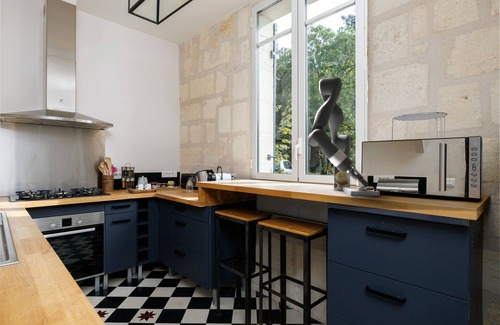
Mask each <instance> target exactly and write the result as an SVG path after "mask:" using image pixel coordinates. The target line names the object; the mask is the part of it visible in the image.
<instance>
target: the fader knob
mask: <svg viewBox="0 0 500 325" xmlns="http://www.w3.org/2000/svg"><path fill="white" fill-rule="evenodd" d="M360 174H361V175H362V176H363V177H364V180H365V181H367V182H368V180H369V179H368V173H360ZM358 178H360V176H359V177H358ZM368 183H369V182H368ZM356 188H357V189H358V190H367V188H368V187H365V186H364V185H363V184H362V183H361V182H359V181H358V180H356Z"/></svg>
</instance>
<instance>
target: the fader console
mask: <svg viewBox="0 0 500 325" xmlns="http://www.w3.org/2000/svg"><path fill="white" fill-rule="evenodd" d="M357 188H358V187H350V188H344V187H343V190H342V191H343V192H344V193H345V194H347V195H349V196H358V197H359V196H363V197H364V196H365V197H367V196H368V197H369V196H370V197H375V196H376V197H379V196H380V191H379V190H376V191H374V190H375V189H373V190H358V189H357Z"/></svg>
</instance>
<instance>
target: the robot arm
mask: <svg viewBox="0 0 500 325" xmlns="http://www.w3.org/2000/svg"><path fill="white" fill-rule="evenodd" d="M342 83H343V82H342V79H341V78H340V77H337V76H336V77H335V76H334V77H333V76H332V77H323V78H321V79H320V80H319V83H318V89H319V93H320V97H321V99H322V102H323V104H322V105H321V107H320V108H319V109H318V110H317V112H316V114H315V117H314V122H313V125H312V127H311V130H310V131H309V132H310V133H309V135H308V138H307V140H308V144H309V145H310V146H311V147H318V146H319V147H320V149H321V153H322V154H323V156H325V157H326V158H327V159H328V160H329V161H330V162H331V164H333V166H334V165H335V166H336V167H337V168H338V169H339V170H340V171H341V172H344V171H345V170H347V171H348V172H347V173H348V174H349V175H350V178H352V179H354V180H355V181H357V180H358V181H359V182H361V183H362V184H363V185H364V188H368V186H369V185H370V184H369V182H367V181H365V180H364V177H363V176H362V175H361V174H362V173H361V172H360V171H358V169H357V168H355V167H353V166H352V165H353V163H354V161H353V160H352V159H351V142H352V141H351V136H350V135H349V134H342V135H338V132H339V130H340V129H341V127H342V125H343V124H344V122H345V119H344V118H345V117H344V112H343V108H341V107H340V105H339V104H338V103H337V100H338V99H339V97H340V94H341V92H342V87H343V86H342V85H343V84H342ZM328 126H329V127H328ZM327 127H328V128H329V131H330V136H331V139H330V137H329V135H328V134H327V133H326V132H325V131H326V129H327ZM342 150H343V151H342ZM359 176H360V178H358V177H359Z"/></svg>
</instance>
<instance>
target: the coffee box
mask: <svg viewBox="0 0 500 325" xmlns="http://www.w3.org/2000/svg"><path fill="white" fill-rule="evenodd" d="M347 172H348V171H347V170H345V171H344V172H341V171H340V170H339V169H338V168H337V167H336V166H335V165H334V164H333V191H343V187H344V188H351V176H350V175H349V174H348V173H347Z"/></svg>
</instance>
